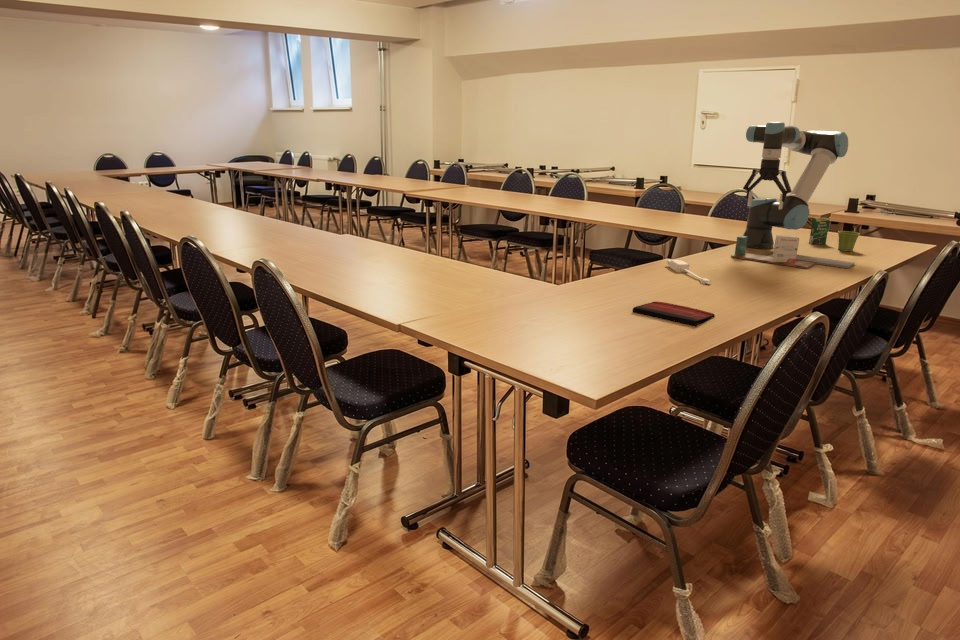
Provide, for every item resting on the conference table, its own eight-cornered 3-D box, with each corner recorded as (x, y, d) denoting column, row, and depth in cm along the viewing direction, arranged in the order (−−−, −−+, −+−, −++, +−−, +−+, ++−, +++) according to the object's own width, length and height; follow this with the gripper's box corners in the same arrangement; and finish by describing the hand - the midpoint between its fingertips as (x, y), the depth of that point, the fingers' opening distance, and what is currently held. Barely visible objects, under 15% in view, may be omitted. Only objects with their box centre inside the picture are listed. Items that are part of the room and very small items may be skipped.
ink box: (792, 262, 287) (797, 235, 284) (795, 265, 283) (800, 237, 279) (771, 261, 289) (776, 234, 285) (773, 263, 285) (778, 236, 281)
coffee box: (811, 244, 332) (816, 218, 328) (808, 243, 335) (812, 217, 331) (826, 244, 333) (830, 218, 329) (822, 243, 336) (826, 217, 332)
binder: (696, 320, 195) (632, 306, 208) (695, 328, 195) (631, 314, 208) (717, 312, 207) (655, 299, 220) (716, 319, 207) (654, 306, 220)
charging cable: (702, 288, 245) (703, 279, 244) (665, 265, 275) (666, 257, 274) (714, 288, 246) (716, 279, 245) (676, 265, 276) (677, 257, 275)
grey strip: (769, 256, 298) (772, 237, 295) (777, 253, 306) (780, 234, 303) (847, 268, 278) (851, 247, 276) (854, 264, 286) (857, 244, 284)
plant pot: (838, 247, 325) (842, 230, 322) (859, 250, 318) (862, 233, 315) (831, 250, 318) (834, 232, 316) (852, 253, 312) (855, 235, 309)
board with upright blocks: (730, 257, 295) (733, 237, 292) (739, 253, 303) (742, 234, 301) (807, 268, 275) (810, 247, 273) (814, 264, 284) (818, 244, 281)
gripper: (739, 157, 294) (733, 205, 301) (798, 160, 279) (791, 211, 286) (745, 156, 300) (739, 203, 307) (803, 159, 284) (796, 209, 291)
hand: (764, 207), depth 296 cm, fingers open, 13 cm apart
